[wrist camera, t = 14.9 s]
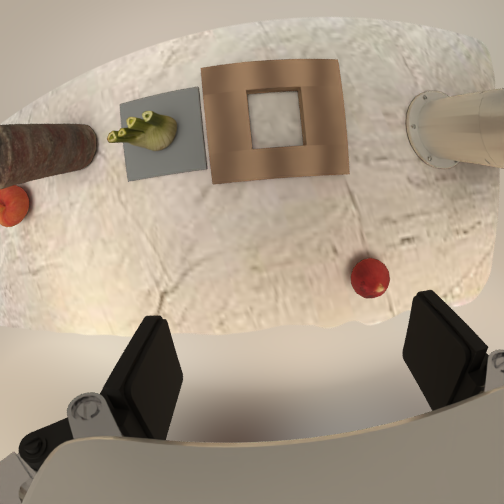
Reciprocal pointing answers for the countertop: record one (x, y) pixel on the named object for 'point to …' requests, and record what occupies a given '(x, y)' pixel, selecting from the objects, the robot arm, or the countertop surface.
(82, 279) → the countertop surface
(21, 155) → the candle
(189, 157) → the mat
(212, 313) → the countertop surface
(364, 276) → the red ovoid
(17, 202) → the apple
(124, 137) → the fennel bulb
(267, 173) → the pocket holder
